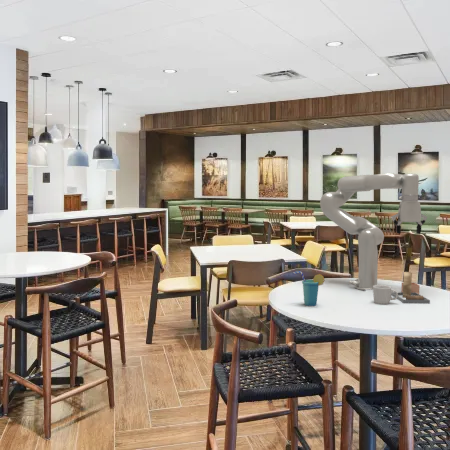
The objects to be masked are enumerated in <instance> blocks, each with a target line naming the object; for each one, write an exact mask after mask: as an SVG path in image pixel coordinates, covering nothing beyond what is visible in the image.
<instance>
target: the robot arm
mask: <svg viewBox="0 0 450 450" xmlns="http://www.w3.org/2000/svg"><path fill="white" fill-rule="evenodd" d="M419 180H420V178H419V174H418V173H405V174H400V173H394V172H393V173H392V172H391V173H390V172H389V173H378V174H360V175H348V176H343V177H340V178H339V179H338V181H337V188H338V189H337V190H336V191H328V192H325V193H324V194H323V195H321V198H320V201H319V205H320V206H319V207H320V209H321V212H322V213H323V215H324V216H325V217H327V219H329V220H330V221H331V222H333V223H334V224H335V225H336V226H338V227H339V228H341V229H342V230H344V231H345V232H346V233H347V234H349V235H354V236H355V235H357V244H358V277H357V278H356V279H355V280H349V281H348V285H355V286H354V288H355V289H356V290H361V291H367V290H369V291H370V290H372V291H373V286H374V285H378V269H379V268H378V261H379V259H378V258H379V250H378V245H380V244H382V243H383V241H384V239H385V235H384V231H383V230H382V229H381V228H379V227H378V226H376V225H375V224H373V222H371V221H369V220H368V219H366V218H364V217H362V216H353V215H351V214H350V213H348V212H347V211H346V210H344V209H343V208H341V207H342V206H343V205H345V204H346V203H347V202H348V201H349V199H351V198H352V197H353V195H354V194H355V193H357V192H370V191H373V190H389V189H391V190H392V189H393V190H397V189H401V196H398V200H400V201H399V205H398V212H397V213H396V214H394V215H391V216H390V217H391V220H392V222H393V223H394V224H395V226H396V227H395V228H396V230H395V231H396V234H399V235H400V234H401V233H402V232H401V231H402V226H401V224H402V223H416V224H417V225H416V234H419V235H421V232H422V226H423V225H424V224H425V223H426V221H427V219H428V216H426V215H424V214H422V208H421V202H420V201H419V182H420V181H419ZM396 218H397V219H398V220H397V219H396Z"/></svg>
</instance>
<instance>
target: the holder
mask: <svg viewBox="0 0 450 450" xmlns="http://www.w3.org/2000/svg"><path fill="white" fill-rule="evenodd" d="M401 292H403V281H402V282H401ZM411 292H416V293H418V294H420V284H418V283H416V282H412V283H411Z"/></svg>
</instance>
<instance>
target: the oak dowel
mask: <svg viewBox="0 0 450 450" xmlns="http://www.w3.org/2000/svg"><path fill="white" fill-rule="evenodd" d="M412 278H413V272H411V271H410V272H409V271H404V272H403V281H402V282H403V295H402V298H403V299H406V296H412V295H411V283H413V279H412Z"/></svg>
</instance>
